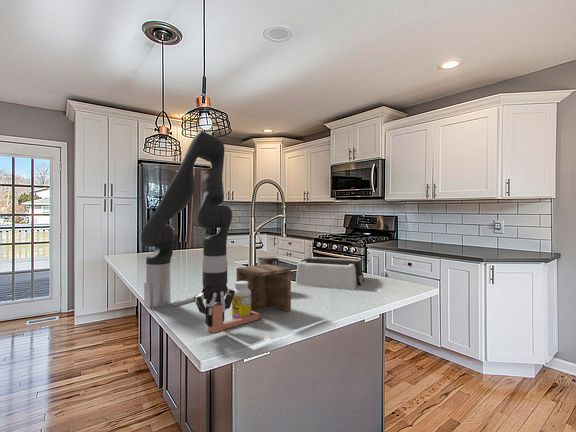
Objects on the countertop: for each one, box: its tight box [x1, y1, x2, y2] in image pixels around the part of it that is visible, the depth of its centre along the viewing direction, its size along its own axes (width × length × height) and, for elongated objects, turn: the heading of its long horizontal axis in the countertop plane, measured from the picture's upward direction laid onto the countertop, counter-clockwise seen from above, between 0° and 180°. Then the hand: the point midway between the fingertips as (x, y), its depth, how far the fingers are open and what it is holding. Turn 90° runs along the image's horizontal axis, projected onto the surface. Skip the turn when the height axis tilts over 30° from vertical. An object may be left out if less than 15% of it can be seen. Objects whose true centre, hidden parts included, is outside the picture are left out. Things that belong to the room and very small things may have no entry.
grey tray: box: [295, 256, 365, 291], centre depth 174 cm, size 35×33×12 cm
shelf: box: [236, 264, 292, 313], centre depth 123 cm, size 15×14×16 cm
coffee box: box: [257, 256, 280, 266], centre depth 154 cm, size 9×6×16 cm
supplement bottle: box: [231, 280, 252, 320], centre depth 114 cm, size 7×7×13 cm
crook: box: [207, 303, 263, 334], centre depth 109 cm, size 20×8×8 cm, turn 134°
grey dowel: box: [172, 296, 205, 307], centre depth 137 cm, size 16×2×2 cm, turn 148°
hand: (215, 324), depth 102 cm, fingers closed on crook, 3 cm apart
